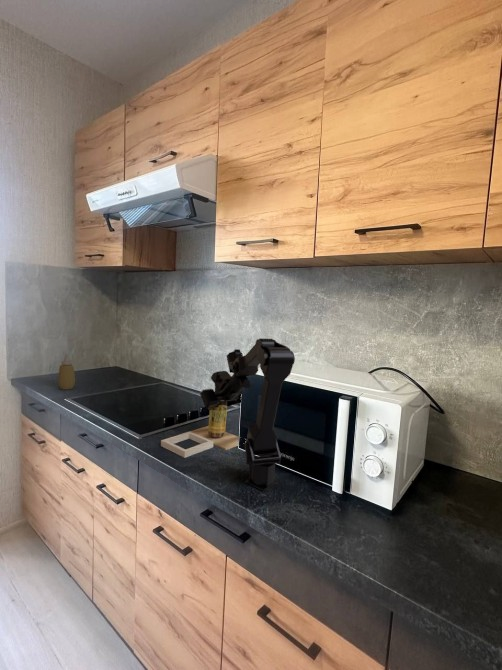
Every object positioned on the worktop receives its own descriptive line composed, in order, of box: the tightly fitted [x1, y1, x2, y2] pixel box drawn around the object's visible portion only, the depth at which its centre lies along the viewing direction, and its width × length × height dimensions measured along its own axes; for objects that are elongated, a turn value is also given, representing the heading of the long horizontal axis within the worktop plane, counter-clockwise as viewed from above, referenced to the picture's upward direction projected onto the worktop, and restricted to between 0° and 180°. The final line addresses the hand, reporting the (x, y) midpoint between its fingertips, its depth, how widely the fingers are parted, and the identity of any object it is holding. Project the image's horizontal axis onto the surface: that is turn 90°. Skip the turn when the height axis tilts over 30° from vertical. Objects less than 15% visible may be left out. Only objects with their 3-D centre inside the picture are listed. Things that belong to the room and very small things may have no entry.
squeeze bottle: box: [57, 353, 76, 390], centre depth 185 cm, size 8×8×18 cm
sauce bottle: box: [207, 383, 228, 437], centre depth 129 cm, size 6×6×20 cm
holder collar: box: [160, 431, 214, 459], centre depth 121 cm, size 12×12×2 cm
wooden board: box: [189, 425, 240, 451], centre depth 131 cm, size 20×11×1 cm, turn 50°
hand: (216, 407), depth 131 cm, fingers open, 6 cm apart
